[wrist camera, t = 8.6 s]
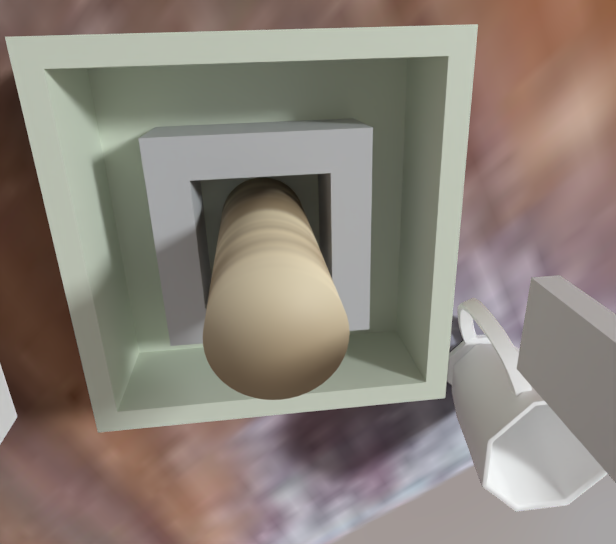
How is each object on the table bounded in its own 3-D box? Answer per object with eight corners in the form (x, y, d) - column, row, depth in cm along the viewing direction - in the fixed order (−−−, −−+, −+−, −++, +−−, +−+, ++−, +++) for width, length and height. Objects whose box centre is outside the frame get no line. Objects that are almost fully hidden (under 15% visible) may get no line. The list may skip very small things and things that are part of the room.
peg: (218, 179, 24) (194, 276, 13) (301, 175, 24) (349, 265, 13) (225, 258, 25) (210, 406, 14) (304, 253, 26) (349, 393, 15)
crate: (65, 44, 22) (4, 36, 16) (423, 34, 23) (478, 24, 18) (127, 360, 28) (97, 432, 22) (407, 336, 29) (445, 398, 24)
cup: (443, 427, 32) (502, 534, 25) (389, 302, 28) (439, 385, 21) (545, 382, 32) (635, 478, 25) (504, 250, 28) (597, 315, 21)
